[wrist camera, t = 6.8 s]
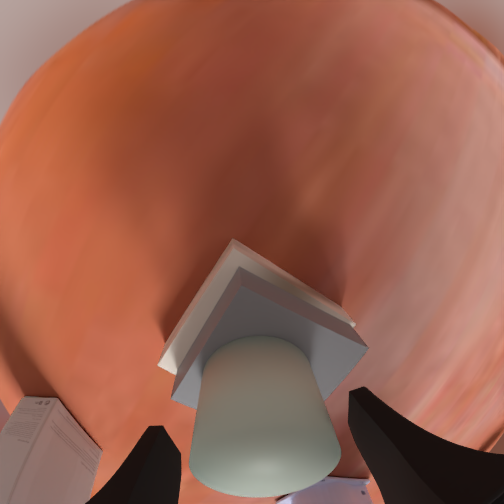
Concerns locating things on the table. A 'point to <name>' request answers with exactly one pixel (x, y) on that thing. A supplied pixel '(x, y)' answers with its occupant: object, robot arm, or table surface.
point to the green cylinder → (261, 421)
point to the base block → (214, 289)
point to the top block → (270, 334)
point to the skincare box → (46, 455)
